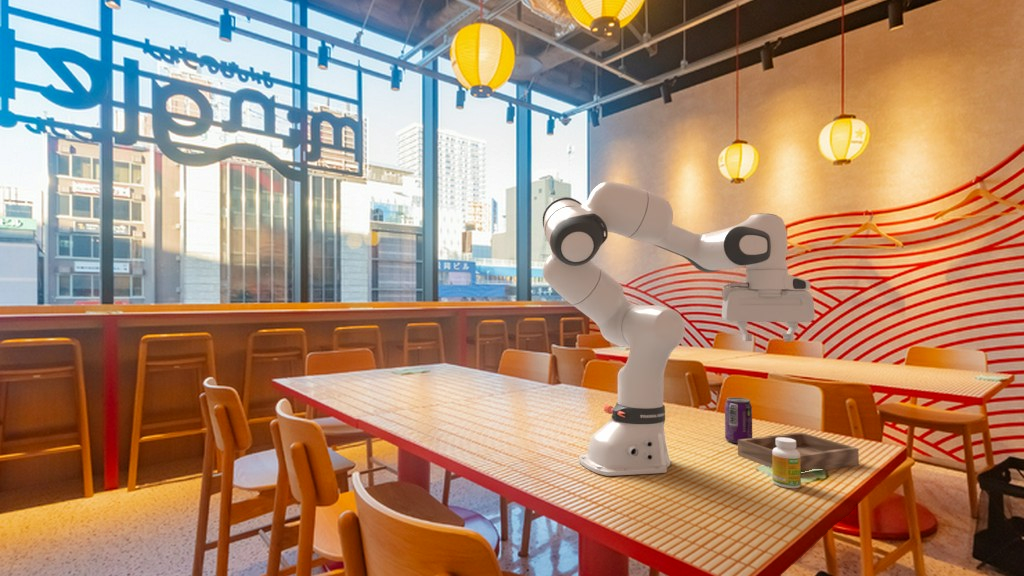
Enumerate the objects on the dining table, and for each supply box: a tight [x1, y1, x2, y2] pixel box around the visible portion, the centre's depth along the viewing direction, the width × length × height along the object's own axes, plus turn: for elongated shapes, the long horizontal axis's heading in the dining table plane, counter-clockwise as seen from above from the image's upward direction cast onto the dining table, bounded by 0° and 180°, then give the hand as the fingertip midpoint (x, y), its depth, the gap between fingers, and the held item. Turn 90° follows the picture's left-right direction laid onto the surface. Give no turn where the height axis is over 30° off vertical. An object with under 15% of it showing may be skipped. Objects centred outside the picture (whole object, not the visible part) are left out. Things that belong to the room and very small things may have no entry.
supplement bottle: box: [772, 437, 802, 489], centre depth 108 cm, size 5×5×10 cm
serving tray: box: [737, 431, 860, 472], centre depth 125 cm, size 22×16×4 cm
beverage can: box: [724, 397, 753, 445], centre depth 142 cm, size 7×7×12 cm
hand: (767, 341), depth 117 cm, fingers open, 8 cm apart
